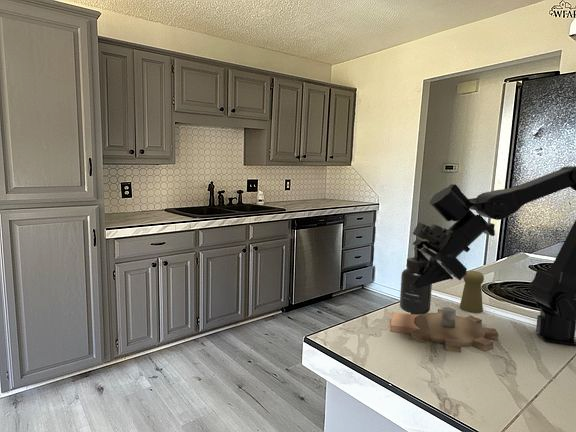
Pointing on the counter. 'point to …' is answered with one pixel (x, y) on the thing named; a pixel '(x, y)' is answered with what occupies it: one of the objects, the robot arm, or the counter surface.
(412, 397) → the counter surface
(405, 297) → the supplement bottle
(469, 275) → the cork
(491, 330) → the sprocket plate
